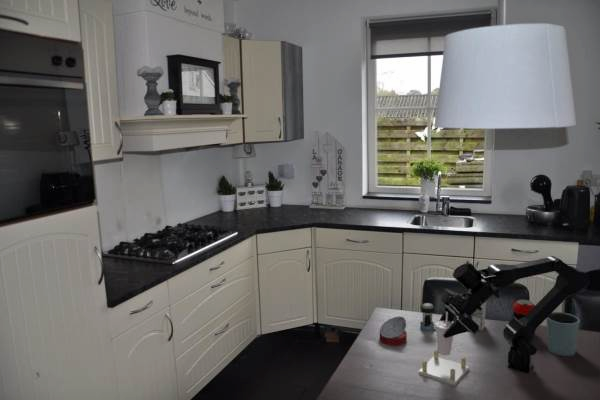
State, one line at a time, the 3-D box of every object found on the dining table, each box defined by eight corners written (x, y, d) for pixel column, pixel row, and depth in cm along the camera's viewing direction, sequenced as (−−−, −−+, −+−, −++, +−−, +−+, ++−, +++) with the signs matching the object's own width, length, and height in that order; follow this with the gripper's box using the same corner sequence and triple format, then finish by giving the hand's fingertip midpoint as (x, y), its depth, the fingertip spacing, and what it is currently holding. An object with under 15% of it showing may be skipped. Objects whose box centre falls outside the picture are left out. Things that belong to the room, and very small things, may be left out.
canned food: (405, 355, 183) (409, 339, 176) (377, 351, 184) (380, 334, 178) (405, 330, 191) (409, 313, 185) (379, 326, 193) (381, 310, 187)
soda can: (513, 335, 186) (514, 305, 184) (511, 327, 193) (513, 297, 191) (535, 338, 183) (537, 307, 181) (533, 329, 190) (534, 299, 188)
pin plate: (469, 369, 163) (469, 357, 162) (455, 385, 154) (455, 373, 153) (433, 358, 170) (434, 347, 170) (418, 373, 161) (418, 362, 160)
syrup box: (485, 325, 195) (486, 290, 192) (481, 331, 190) (483, 295, 188) (470, 323, 198) (471, 287, 195) (466, 328, 193) (467, 292, 191)
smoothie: (449, 359, 157) (450, 317, 154) (430, 353, 161) (431, 312, 159) (458, 352, 162) (459, 311, 159) (439, 346, 166) (440, 306, 163)
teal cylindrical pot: (579, 358, 168) (582, 325, 166) (546, 354, 171) (548, 321, 169) (574, 345, 177) (576, 313, 175) (542, 341, 181) (544, 310, 178)
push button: (435, 326, 196) (436, 301, 194) (439, 332, 191) (440, 307, 189) (418, 326, 196) (419, 302, 194) (422, 332, 191) (422, 307, 189)
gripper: (447, 272, 166) (414, 305, 168) (469, 292, 148) (432, 329, 149) (470, 293, 168) (437, 326, 170) (495, 315, 150) (458, 352, 151)
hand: (440, 332), depth 160 cm, fingers closed on smoothie, 6 cm apart
